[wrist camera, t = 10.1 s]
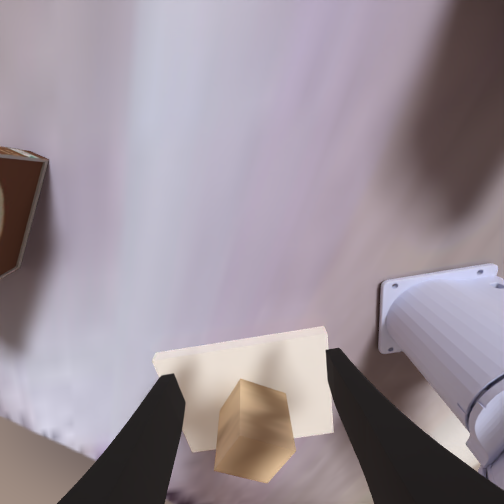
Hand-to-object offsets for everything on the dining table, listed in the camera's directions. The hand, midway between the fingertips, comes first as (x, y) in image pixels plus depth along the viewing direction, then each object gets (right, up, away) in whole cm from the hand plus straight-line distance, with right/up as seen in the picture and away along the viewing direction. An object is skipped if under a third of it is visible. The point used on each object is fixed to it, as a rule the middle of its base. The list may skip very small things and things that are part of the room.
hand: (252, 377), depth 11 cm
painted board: (0, -9, +14) cm, 16 cm away
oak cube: (0, -9, +13) cm, 16 cm away
